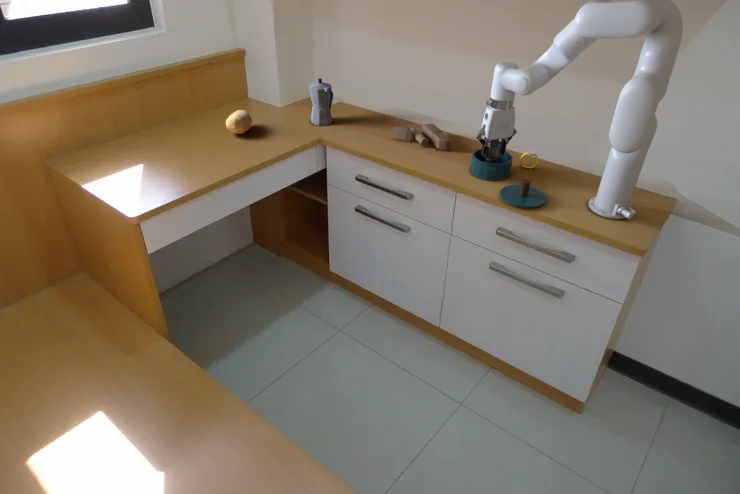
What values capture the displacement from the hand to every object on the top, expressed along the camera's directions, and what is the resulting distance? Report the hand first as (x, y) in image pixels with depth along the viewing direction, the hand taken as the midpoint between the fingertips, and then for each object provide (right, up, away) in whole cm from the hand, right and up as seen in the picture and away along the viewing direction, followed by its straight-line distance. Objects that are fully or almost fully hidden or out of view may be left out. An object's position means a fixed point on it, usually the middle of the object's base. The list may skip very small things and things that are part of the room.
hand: (492, 154), depth 175 cm
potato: (-94, +14, +30) cm, 100 cm away
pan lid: (+7, -16, -12) cm, 21 cm away
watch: (+14, -4, +7) cm, 16 cm away
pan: (0, -5, +4) cm, 7 cm away
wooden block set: (-22, +8, +23) cm, 33 cm away
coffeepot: (-62, +20, +40) cm, 76 cm away
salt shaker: (0, -3, +2) cm, 3 cm away
